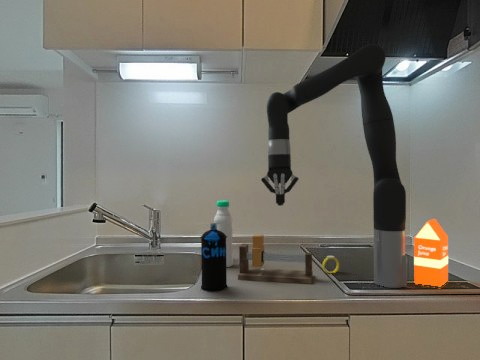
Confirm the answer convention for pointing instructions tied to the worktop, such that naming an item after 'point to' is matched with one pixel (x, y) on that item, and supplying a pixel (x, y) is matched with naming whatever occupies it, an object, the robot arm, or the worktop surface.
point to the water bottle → (225, 228)
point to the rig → (274, 271)
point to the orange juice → (431, 255)
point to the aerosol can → (213, 259)
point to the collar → (257, 250)
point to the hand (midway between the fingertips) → (280, 205)
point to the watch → (325, 262)
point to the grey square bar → (279, 257)
